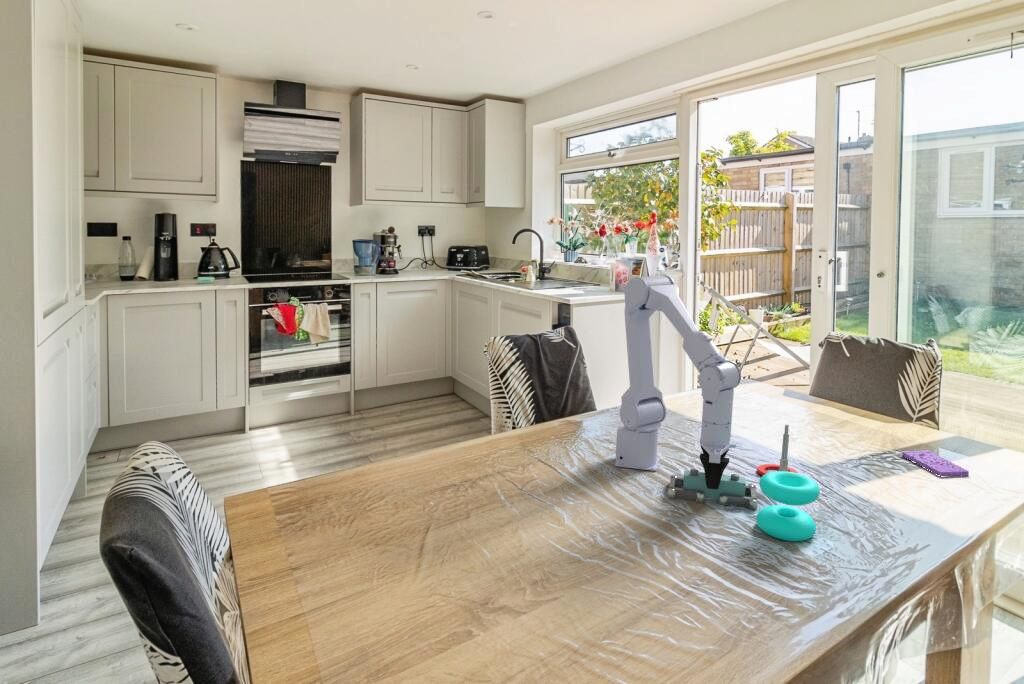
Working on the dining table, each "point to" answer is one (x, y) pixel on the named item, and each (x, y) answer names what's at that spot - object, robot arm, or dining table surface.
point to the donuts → (786, 518)
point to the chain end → (683, 491)
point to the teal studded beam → (727, 485)
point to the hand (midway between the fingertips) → (712, 483)
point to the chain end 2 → (741, 498)
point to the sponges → (935, 463)
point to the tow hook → (783, 460)
